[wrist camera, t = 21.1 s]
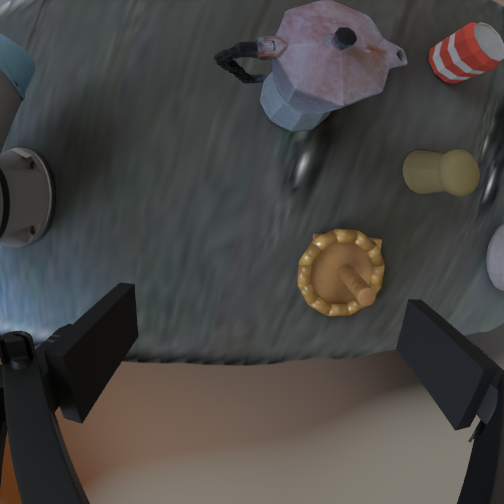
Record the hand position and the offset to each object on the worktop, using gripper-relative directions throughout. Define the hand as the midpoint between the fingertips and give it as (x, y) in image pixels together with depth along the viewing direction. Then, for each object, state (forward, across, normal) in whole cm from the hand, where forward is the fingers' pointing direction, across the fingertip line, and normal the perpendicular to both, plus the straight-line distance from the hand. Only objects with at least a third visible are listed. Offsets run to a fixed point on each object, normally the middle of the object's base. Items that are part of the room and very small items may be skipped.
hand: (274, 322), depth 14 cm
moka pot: (+27, +3, +16) cm, 31 cm away
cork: (+26, +21, +9) cm, 35 cm away
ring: (+24, +10, -5) cm, 27 cm away
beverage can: (+26, +25, +26) cm, 45 cm away
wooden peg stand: (+26, +11, -5) cm, 29 cm away
